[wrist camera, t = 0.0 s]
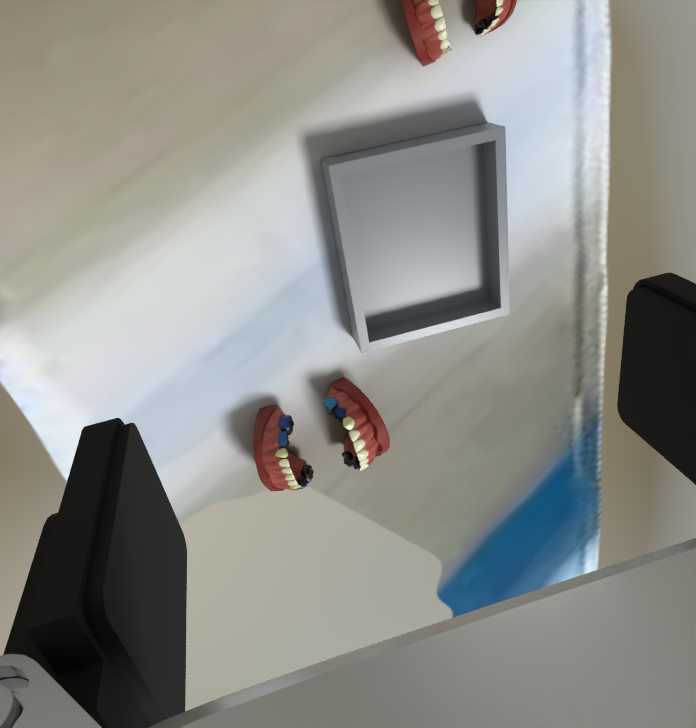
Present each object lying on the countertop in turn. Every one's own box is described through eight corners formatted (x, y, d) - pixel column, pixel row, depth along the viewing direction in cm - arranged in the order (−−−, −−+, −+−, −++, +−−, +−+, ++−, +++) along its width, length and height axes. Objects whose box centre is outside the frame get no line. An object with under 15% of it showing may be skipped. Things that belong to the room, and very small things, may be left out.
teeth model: (246, 456, 48) (382, 406, 49) (239, 413, 53) (361, 368, 54) (277, 522, 52) (401, 475, 53) (268, 476, 58) (381, 434, 58)
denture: (533, 20, 39) (426, 73, 39) (505, 25, 43) (407, 72, 43) (512, -76, 36) (397, -19, 36) (484, -62, 40) (380, -11, 40)
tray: (320, 159, 44) (328, 165, 41) (487, 122, 46) (505, 126, 43) (353, 338, 52) (361, 353, 49) (494, 301, 53) (509, 314, 51)
